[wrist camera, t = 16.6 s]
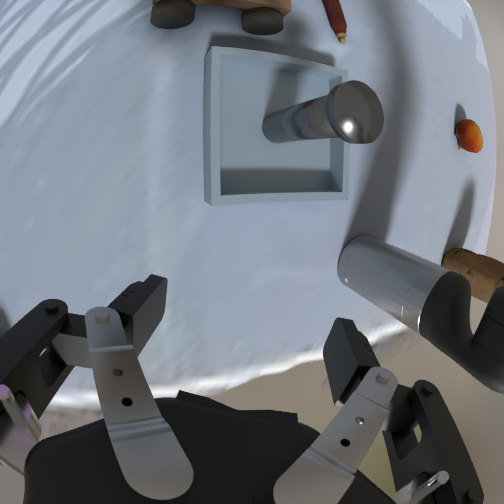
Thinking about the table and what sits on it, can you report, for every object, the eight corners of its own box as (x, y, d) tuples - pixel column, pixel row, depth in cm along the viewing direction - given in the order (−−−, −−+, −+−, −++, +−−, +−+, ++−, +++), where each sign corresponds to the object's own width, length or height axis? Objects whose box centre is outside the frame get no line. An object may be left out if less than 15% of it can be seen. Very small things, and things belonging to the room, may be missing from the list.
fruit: (452, 135, 44) (481, 127, 37) (446, 119, 47) (472, 111, 41) (462, 163, 47) (489, 156, 41) (456, 145, 51) (481, 138, 45)
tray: (330, 76, 32) (347, 70, 29) (330, 195, 38) (347, 199, 35) (204, 58, 26) (212, 46, 23) (204, 200, 32) (211, 205, 29)
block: (437, 281, 57) (498, 314, 39) (440, 255, 54) (506, 285, 37) (456, 266, 60) (513, 292, 42) (459, 241, 57) (519, 265, 39)
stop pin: (295, 110, 31) (382, 89, 18) (295, 149, 33) (383, 147, 20) (257, 106, 30) (333, 73, 16) (257, 147, 31) (335, 139, 18)
